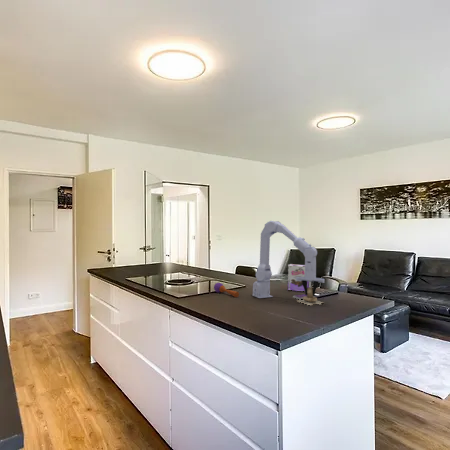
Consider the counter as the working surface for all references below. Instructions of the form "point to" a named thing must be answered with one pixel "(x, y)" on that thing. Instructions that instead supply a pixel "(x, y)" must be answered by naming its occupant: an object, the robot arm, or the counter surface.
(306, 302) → the board
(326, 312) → the counter surface
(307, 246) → the robot arm
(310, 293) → the stamp
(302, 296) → the ink pad
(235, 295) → the maraca
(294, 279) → the candy box
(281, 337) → the counter surface
